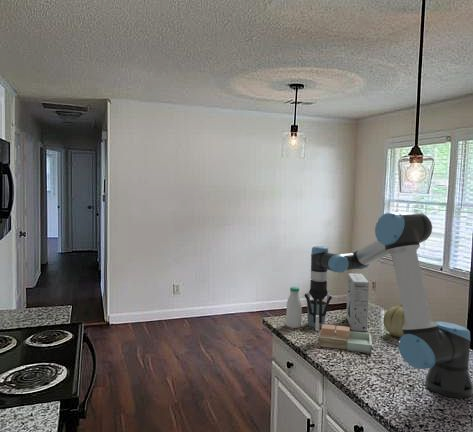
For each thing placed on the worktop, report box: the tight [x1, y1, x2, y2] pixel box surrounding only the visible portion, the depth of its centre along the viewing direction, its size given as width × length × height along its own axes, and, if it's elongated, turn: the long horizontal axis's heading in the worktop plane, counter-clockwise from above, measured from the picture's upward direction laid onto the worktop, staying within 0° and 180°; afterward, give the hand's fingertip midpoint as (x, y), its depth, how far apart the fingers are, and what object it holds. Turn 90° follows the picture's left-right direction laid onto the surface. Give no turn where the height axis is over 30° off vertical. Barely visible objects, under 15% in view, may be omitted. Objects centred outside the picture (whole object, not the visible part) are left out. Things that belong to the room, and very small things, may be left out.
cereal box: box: [345, 272, 370, 332], centre depth 219 cm, size 22×8×25 cm, turn 172°
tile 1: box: [320, 323, 337, 336], centre depth 193 cm, size 6×6×3 cm
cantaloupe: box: [382, 304, 405, 338], centre depth 202 cm, size 15×15×15 cm
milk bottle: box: [285, 286, 303, 329], centre depth 214 cm, size 8×8×20 cm
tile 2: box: [335, 325, 351, 339], centre depth 191 cm, size 6×6×3 cm
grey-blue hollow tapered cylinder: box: [306, 299, 327, 328], centre depth 217 cm, size 10×10×12 cm
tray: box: [346, 330, 373, 354], centre depth 189 cm, size 16×10×4 cm, turn 164°
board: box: [318, 328, 348, 350], centre depth 192 cm, size 14×12×4 cm
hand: (317, 329), depth 194 cm, fingers closed
